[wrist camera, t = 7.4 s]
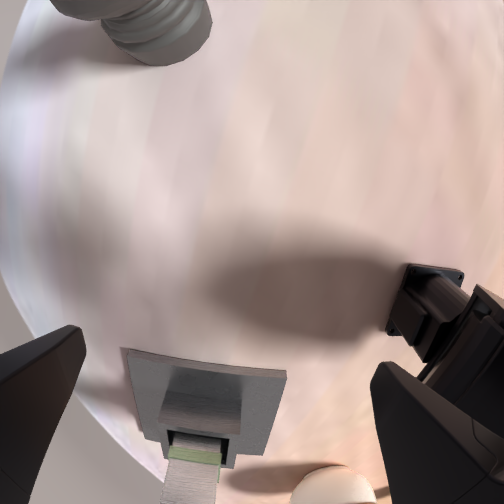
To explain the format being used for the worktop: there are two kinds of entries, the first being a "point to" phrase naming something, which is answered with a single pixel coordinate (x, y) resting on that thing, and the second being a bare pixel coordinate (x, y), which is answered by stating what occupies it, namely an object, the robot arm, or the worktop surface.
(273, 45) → the worktop surface
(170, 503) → the grey tall block
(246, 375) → the stand base
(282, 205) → the worktop surface
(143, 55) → the candle holder
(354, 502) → the lidded bowl
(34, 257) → the worktop surface
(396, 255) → the worktop surface
